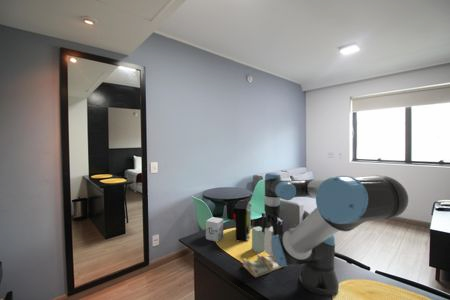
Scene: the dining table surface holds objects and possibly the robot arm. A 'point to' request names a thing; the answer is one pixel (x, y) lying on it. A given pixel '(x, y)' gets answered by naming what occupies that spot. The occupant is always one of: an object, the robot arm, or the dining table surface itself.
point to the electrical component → (242, 220)
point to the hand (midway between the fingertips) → (271, 250)
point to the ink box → (214, 229)
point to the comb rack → (261, 265)
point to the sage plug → (258, 239)
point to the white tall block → (268, 240)
